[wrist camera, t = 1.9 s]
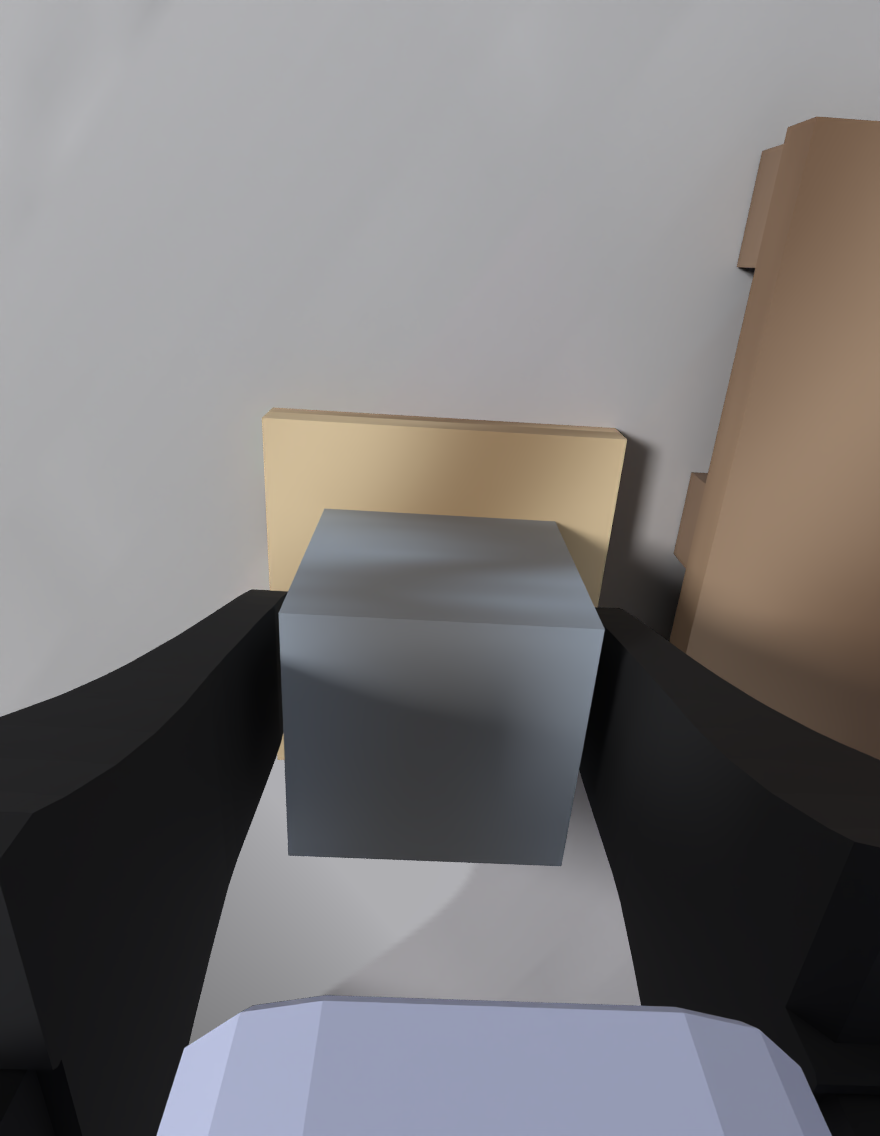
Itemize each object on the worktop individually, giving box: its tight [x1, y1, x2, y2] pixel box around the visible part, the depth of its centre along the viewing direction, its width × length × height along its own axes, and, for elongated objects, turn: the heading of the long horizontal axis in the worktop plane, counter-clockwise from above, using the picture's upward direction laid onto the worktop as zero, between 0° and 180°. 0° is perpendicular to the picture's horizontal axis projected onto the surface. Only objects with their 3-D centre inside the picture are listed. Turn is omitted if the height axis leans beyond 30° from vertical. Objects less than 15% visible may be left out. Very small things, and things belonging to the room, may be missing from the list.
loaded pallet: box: [262, 408, 627, 866], centre depth 11 cm, size 6×7×5 cm
